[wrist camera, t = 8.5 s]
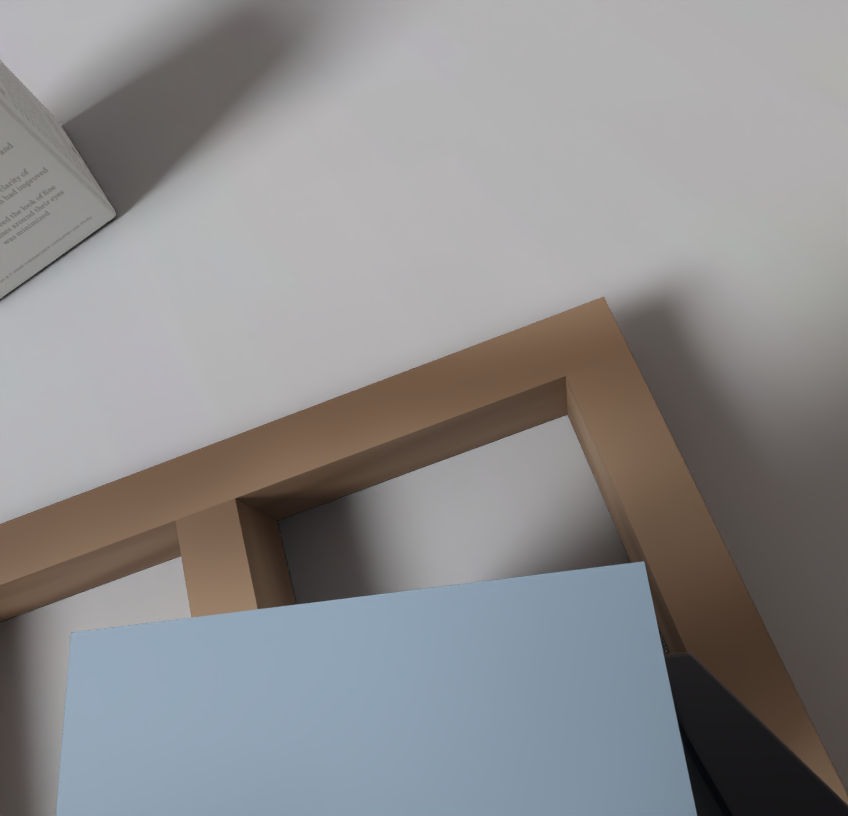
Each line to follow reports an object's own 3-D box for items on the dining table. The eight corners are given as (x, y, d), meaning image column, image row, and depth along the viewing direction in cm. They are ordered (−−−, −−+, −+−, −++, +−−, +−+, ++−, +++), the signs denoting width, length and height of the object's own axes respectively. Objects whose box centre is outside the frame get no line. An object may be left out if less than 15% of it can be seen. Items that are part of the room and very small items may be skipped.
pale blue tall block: (598, 638, 16) (643, 562, 5) (639, 870, 14) (842, 1516, 3) (404, 659, 17) (71, 632, 6) (423, 883, 15) (1, 1453, 4)
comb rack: (950, 1087, 12) (1035, 1179, 10) (-92, 1384, 14) (-225, 1523, 11) (600, 344, 18) (604, 296, 16) (-95, 602, 20) (-183, 592, 18)
